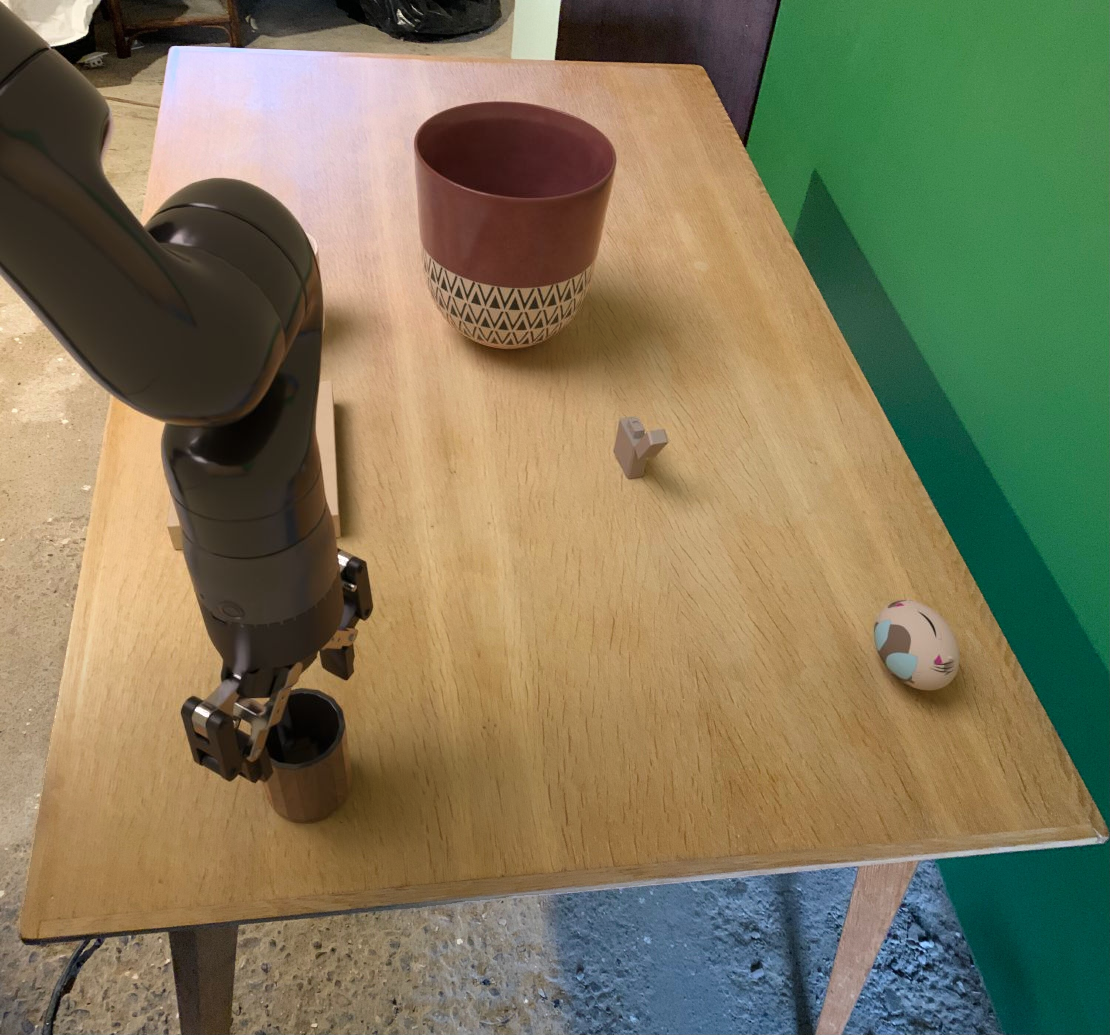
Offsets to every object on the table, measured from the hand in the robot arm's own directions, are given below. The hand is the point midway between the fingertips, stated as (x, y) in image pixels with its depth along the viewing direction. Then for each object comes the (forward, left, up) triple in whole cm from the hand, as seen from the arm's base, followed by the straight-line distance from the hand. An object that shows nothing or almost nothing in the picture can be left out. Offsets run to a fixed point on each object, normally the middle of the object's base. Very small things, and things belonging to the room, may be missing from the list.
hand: (299, 720), depth 62 cm
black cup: (0, 0, -9) cm, 9 cm away
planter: (+55, +15, -9) cm, 58 cm away
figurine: (+33, -36, -9) cm, 50 cm away
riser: (+23, +23, -9) cm, 34 cm away
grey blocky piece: (+42, -7, -9) cm, 43 cm away
